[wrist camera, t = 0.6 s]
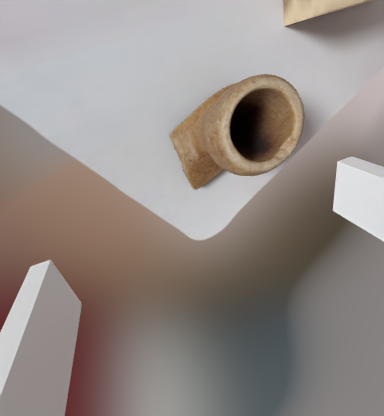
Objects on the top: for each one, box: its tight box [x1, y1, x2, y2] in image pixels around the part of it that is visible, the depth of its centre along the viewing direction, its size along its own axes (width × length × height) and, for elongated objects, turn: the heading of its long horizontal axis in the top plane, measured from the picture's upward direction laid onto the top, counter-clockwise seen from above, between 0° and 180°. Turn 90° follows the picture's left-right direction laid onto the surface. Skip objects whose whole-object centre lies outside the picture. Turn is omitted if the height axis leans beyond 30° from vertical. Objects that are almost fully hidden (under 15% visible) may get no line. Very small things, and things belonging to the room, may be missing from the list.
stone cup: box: [170, 74, 304, 190], centre depth 30 cm, size 15×12×15 cm
